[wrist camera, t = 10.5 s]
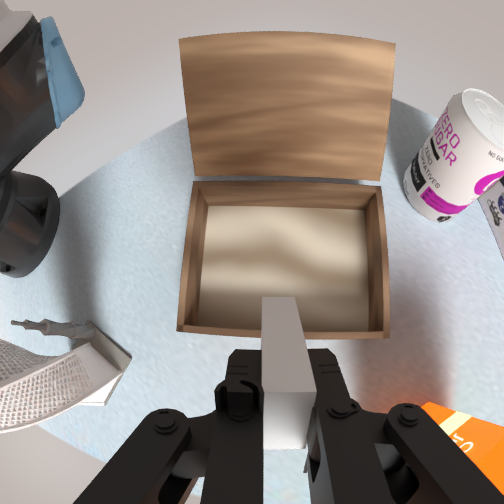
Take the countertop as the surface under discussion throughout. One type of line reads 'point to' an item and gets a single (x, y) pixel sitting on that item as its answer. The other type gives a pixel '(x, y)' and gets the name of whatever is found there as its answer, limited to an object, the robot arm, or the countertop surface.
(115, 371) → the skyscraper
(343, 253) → the box
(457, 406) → the countertop surface
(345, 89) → the lid
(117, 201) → the countertop surface
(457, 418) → the orange juice
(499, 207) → the packaging
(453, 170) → the supplement can
